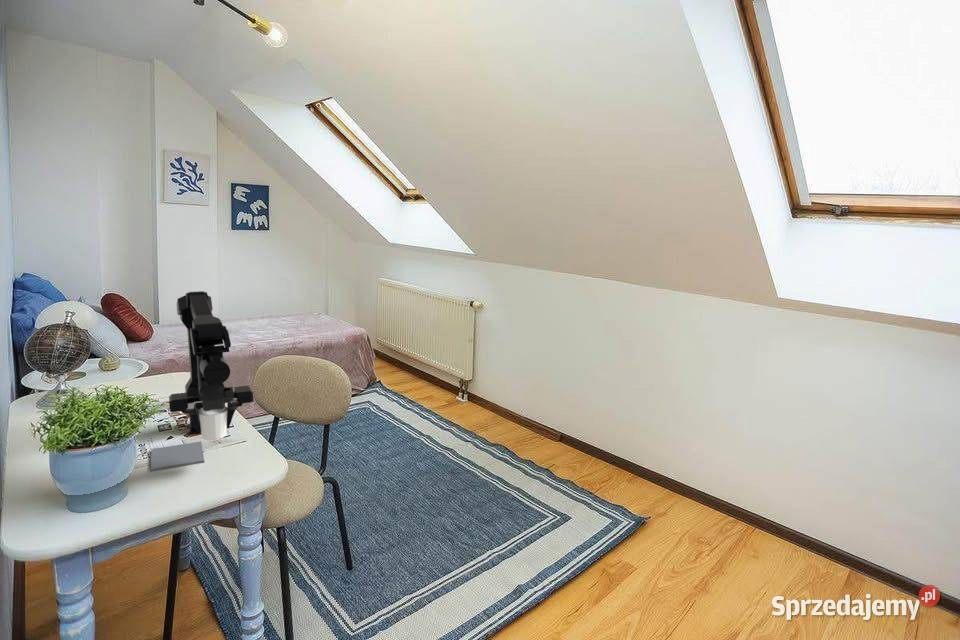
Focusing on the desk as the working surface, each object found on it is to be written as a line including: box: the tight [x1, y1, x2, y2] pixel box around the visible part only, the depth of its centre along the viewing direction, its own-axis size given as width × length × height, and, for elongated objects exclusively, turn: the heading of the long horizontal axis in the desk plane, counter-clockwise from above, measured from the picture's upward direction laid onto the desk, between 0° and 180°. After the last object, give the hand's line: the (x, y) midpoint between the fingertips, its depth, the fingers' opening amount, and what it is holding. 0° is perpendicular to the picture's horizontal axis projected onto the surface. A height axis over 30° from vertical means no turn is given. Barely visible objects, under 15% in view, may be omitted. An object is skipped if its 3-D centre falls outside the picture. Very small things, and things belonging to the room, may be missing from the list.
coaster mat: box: [150, 441, 205, 472], centre depth 144 cm, size 12×12×1 cm
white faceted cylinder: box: [198, 405, 228, 441], centre depth 138 cm, size 7×7×7 cm
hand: (213, 429), depth 138 cm, fingers closed on white faceted cylinder, 6 cm apart
